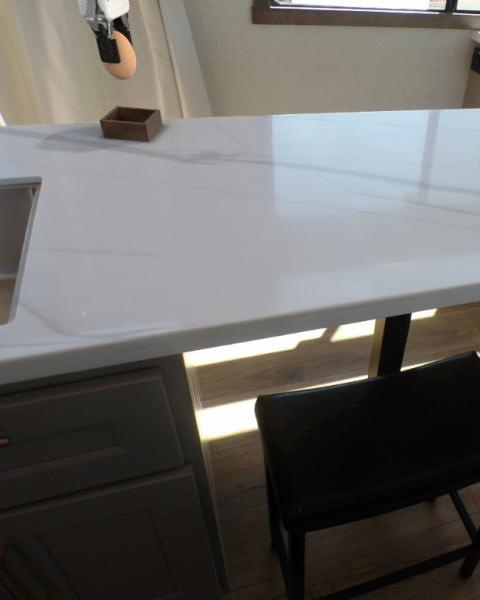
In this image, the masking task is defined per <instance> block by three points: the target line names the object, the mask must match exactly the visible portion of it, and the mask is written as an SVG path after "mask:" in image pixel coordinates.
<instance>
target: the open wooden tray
mask: <svg viewBox="0 0 480 600" xmlns="http://www.w3.org/2000/svg"><path fill="white" fill-rule="evenodd" d="M99 124H100V129H101V133H102V137H103V138H104V139H112V140H113V139H114V140H124V141H135V142H136V141H137V142H147V143H148V142H150V141H151V140H152V139H153V138H154V137H155V136H156V135H157V133H159V132H160V130H161V129H162V128H163V127H164V125H163V120H162V114H161V109H155V108H147V107H146V108H145V107H133V106H123V105H116V106H115V107H114V108H112V109H110V111H109V112H108V113H107V114H105V115H104V116H102V118H100V119H99Z"/></svg>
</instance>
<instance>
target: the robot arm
mask: <svg viewBox="0 0 480 600" xmlns="http://www.w3.org/2000/svg"><path fill="white" fill-rule="evenodd" d="M76 1H77V5H78V9H79V13H80V15H81V17H82V18H84V19H85V21H86V23H87V25H88V26H89V27H90V29H91V31H92V33H93V37H94V38H95V42H96V45H97V50H98V53H99V58H100V61H101V63H103V62H105V63H116V64H119V63H120V62H121V60H120V55H119V50H118V46H117V41H116V39H113V30H115V31H118V32H120V33H121V34H123V35H124V36H125V37H126V38H127V40H128V41H129V42H130V44H131V46H132V47H133V50H134V49H135V48H134V44H133V40H132V35H131V34H132V33H131V24H130V23H129V13H128V12H129V11H130V1H129V0H76ZM98 15H102V16H103V17H100V16H99V17H98ZM104 24H105V25H104ZM134 51H135V50H134Z"/></svg>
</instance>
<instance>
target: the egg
mask: <svg viewBox="0 0 480 600" xmlns="http://www.w3.org/2000/svg"><path fill="white" fill-rule="evenodd" d="M113 39H116V41H117V46H118V50H119V55H120V60H121V62H120V63H119V64H116V63H105V62H102V64H103V65H102V66H103V67H104V69H105V70H106V71H107V72H108V73H109V74H110V75H111V76H112V77H113V78H115V79H117V80H121V81H126V80H128V79H130V78H131V77H132V76H134V74H135V72H136V70H137V56H136V53H135V50H133V49H134V46H133V47H132V46H131V44H130V42H129V41H128V40H127V38H126V37H125V36H124V35H123V34H121V33H120V32H118V31H115V30H113Z"/></svg>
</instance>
